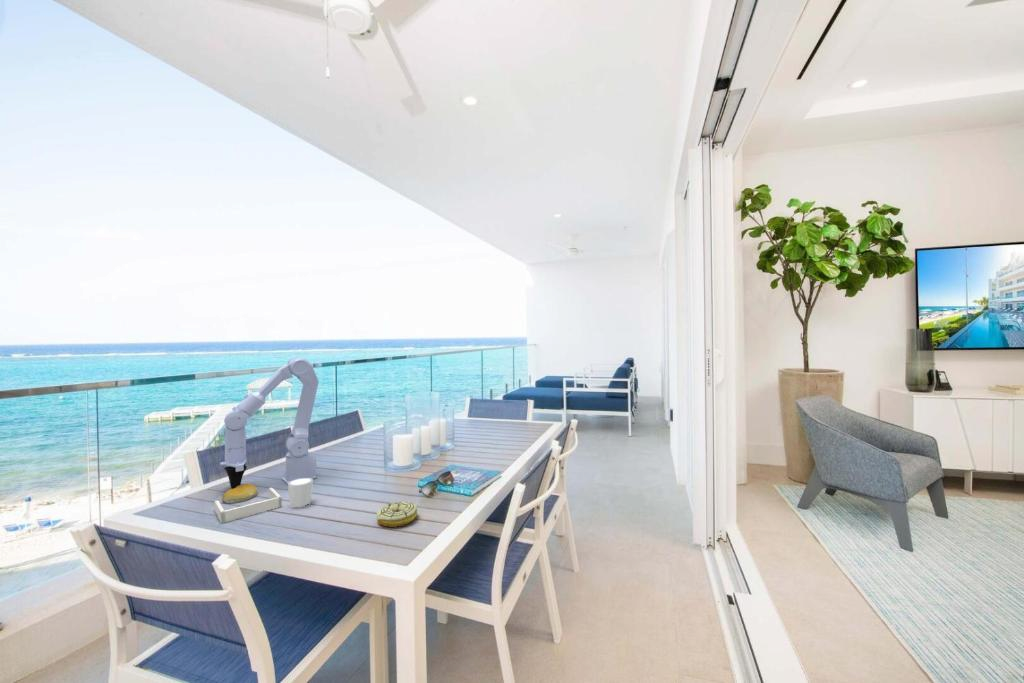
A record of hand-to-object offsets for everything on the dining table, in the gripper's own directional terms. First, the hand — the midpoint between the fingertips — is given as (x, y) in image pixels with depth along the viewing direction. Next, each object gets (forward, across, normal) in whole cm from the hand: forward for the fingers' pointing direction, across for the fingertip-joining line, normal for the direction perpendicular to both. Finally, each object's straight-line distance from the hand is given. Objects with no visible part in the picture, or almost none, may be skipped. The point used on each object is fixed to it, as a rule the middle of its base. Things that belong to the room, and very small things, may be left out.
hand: (235, 487), depth 126 cm
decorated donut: (+2, +57, +28) cm, 64 cm away
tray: (+1, +19, 0) cm, 19 cm away
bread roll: (+2, +7, 0) cm, 7 cm away
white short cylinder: (+1, +26, +12) cm, 29 cm away
